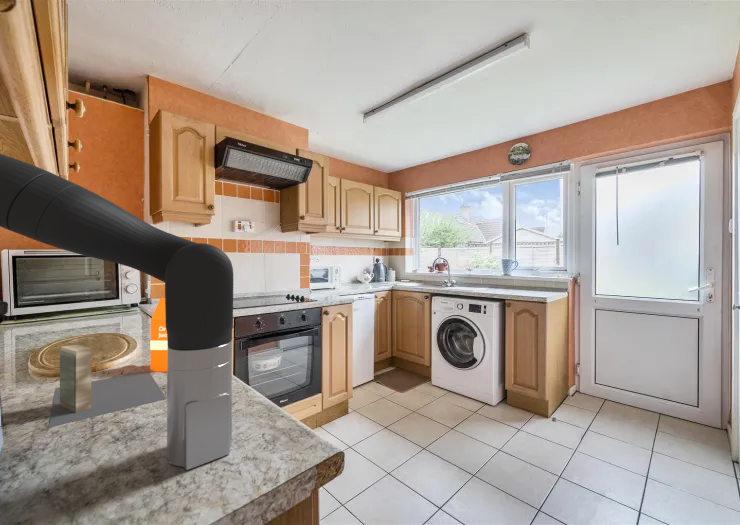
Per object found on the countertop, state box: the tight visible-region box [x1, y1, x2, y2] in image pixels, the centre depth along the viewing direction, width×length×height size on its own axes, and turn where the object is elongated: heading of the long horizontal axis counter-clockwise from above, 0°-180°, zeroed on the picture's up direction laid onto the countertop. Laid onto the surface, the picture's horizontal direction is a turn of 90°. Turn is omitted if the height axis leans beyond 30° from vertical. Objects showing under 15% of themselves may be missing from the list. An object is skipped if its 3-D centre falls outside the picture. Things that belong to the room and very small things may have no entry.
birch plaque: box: [59, 344, 92, 413], centre depth 65 cm, size 3×7×12 cm, turn 62°
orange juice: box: [149, 297, 168, 372], centre depth 93 cm, size 8×9×20 cm
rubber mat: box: [48, 370, 167, 428], centre depth 72 cm, size 24×18×1 cm
